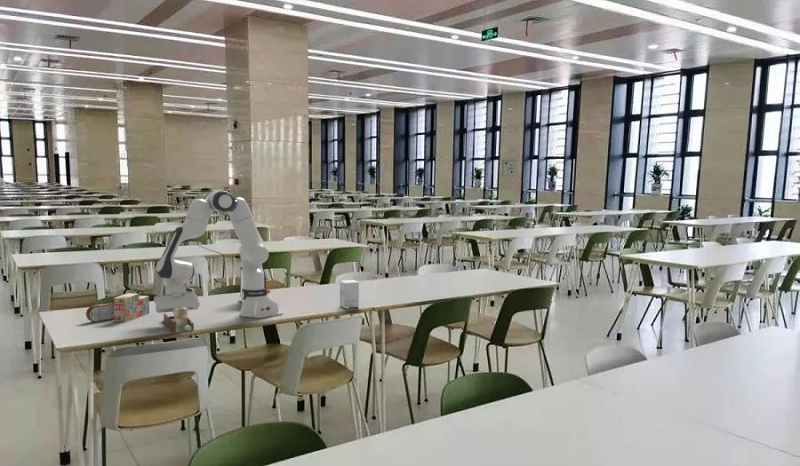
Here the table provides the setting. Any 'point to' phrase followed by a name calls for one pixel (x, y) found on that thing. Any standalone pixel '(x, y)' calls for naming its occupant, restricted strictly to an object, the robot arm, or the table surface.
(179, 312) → the birch block
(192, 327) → the walled track
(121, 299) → the stack of blocks
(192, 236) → the robot arm
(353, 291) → the supplement box
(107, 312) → the tin
